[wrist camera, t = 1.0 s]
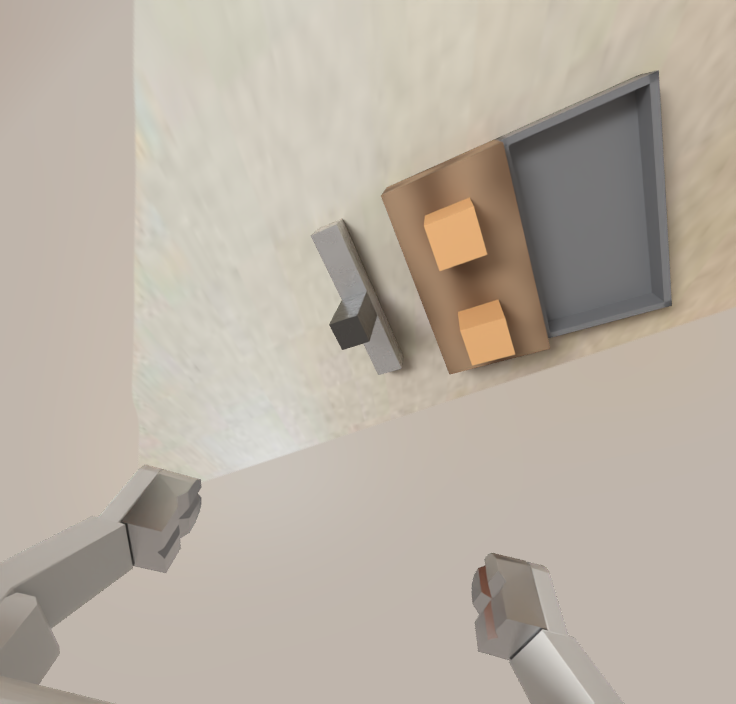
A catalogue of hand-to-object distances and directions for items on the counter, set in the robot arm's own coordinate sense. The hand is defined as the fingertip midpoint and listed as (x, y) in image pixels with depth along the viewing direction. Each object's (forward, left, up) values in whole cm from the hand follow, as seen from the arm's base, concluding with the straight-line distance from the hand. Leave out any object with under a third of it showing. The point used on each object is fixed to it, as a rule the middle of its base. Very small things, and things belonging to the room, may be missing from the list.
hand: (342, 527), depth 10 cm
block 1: (-4, 0, -29) cm, 29 cm away
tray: (-16, +5, -34) cm, 38 cm away
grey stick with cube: (+8, +5, -34) cm, 36 cm away
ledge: (-5, +5, -34) cm, 35 cm away
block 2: (-4, +10, -29) cm, 31 cm away
